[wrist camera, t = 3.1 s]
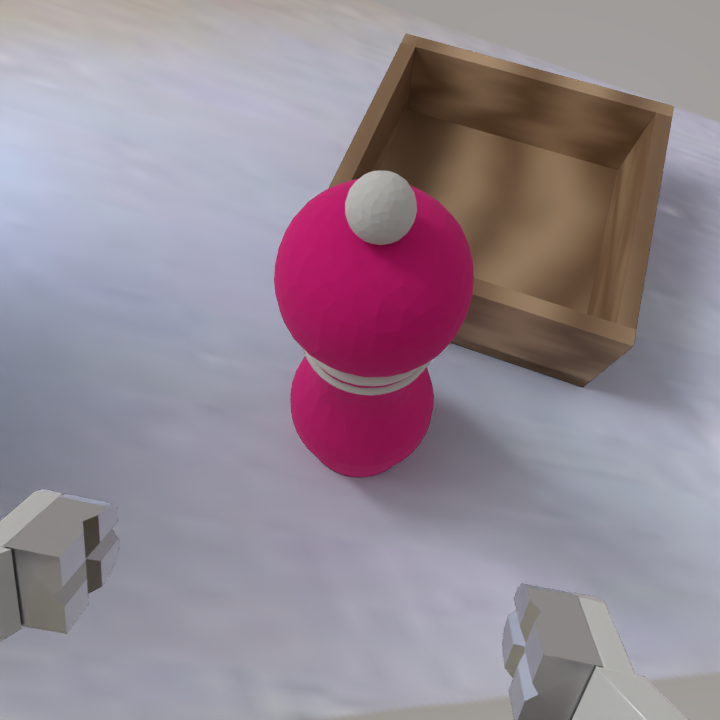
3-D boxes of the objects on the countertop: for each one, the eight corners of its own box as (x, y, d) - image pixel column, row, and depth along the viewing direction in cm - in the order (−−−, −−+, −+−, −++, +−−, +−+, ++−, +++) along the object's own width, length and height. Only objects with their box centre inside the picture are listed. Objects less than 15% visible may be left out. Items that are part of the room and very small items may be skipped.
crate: (309, 295, 34) (303, 239, 28) (397, 108, 40) (405, 33, 35) (582, 387, 32) (633, 346, 26) (626, 174, 38) (674, 106, 33)
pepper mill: (397, 506, 29) (495, 370, 10) (277, 459, 29) (166, 257, 11) (436, 390, 31) (567, 119, 13) (325, 351, 32) (300, 43, 14)
